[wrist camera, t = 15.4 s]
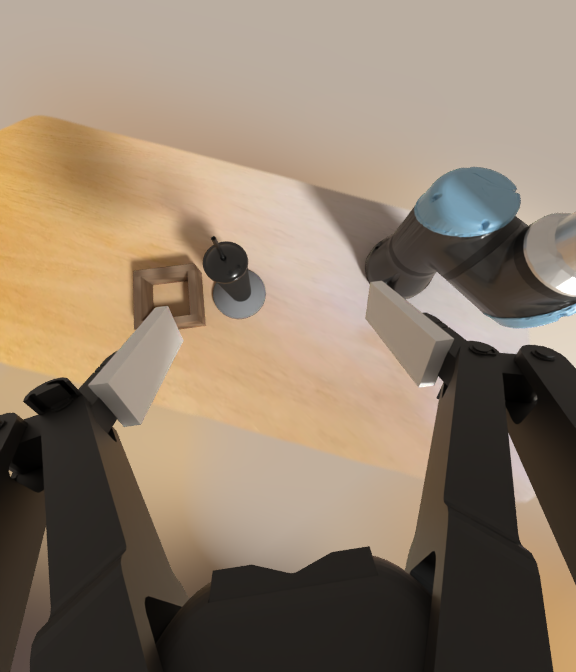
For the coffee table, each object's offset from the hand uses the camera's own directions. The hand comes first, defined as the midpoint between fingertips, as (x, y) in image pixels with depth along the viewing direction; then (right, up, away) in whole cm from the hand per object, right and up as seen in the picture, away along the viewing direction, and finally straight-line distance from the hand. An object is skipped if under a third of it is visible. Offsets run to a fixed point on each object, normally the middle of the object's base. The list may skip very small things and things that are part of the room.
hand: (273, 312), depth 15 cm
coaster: (-10, +8, +37) cm, 39 cm away
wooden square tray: (-25, +6, +36) cm, 45 cm away
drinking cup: (-10, +9, +36) cm, 39 cm away
